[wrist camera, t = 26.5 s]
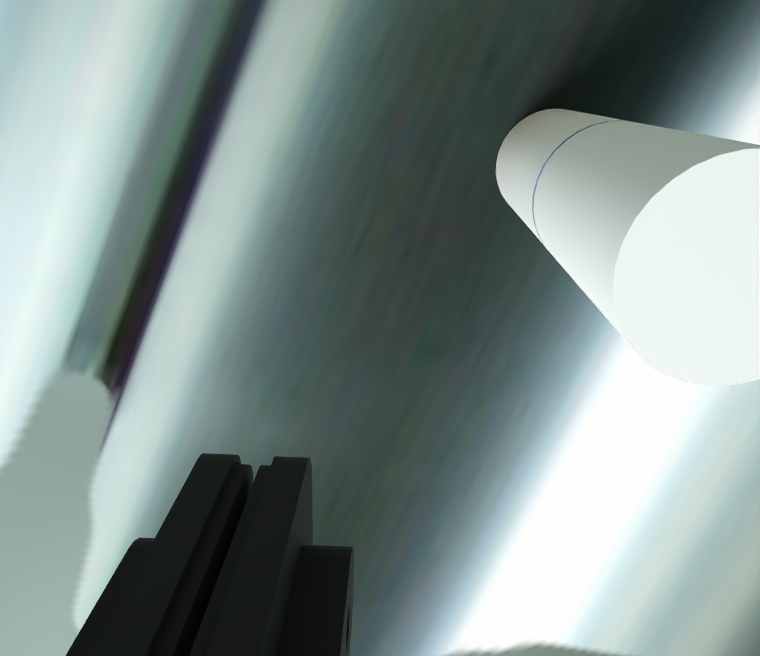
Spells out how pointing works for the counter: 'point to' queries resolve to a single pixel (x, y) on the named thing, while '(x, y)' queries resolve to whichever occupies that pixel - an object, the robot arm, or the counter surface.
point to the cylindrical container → (649, 233)
